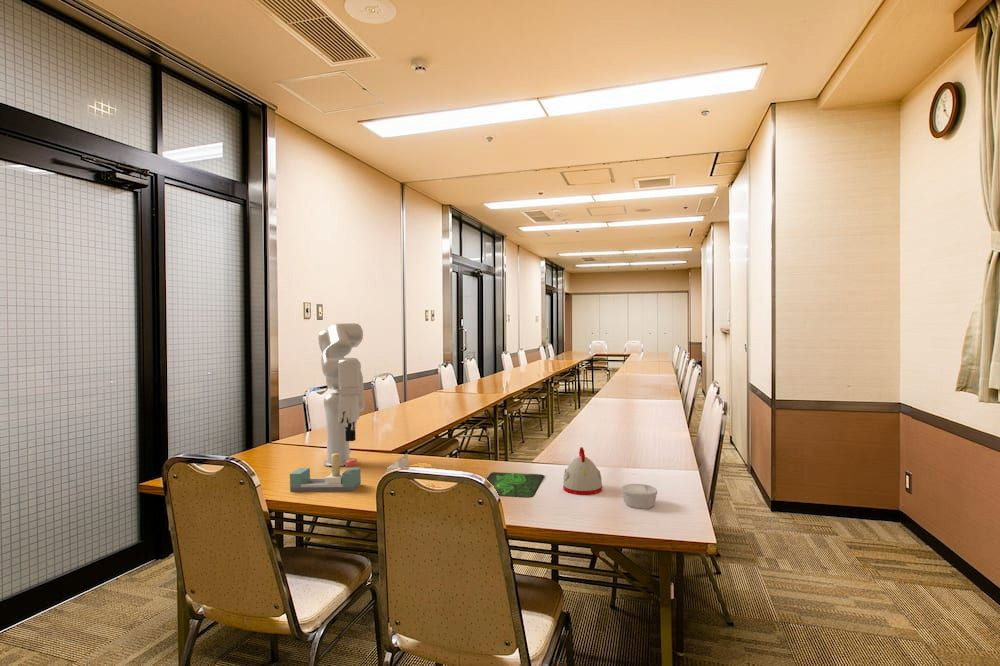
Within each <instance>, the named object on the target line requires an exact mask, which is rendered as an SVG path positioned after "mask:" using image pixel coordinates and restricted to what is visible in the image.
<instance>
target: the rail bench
mask: <svg viewBox="0 0 1000 666" xmlns="http://www.w3.org/2000/svg"><path fill="white" fill-rule="evenodd" d="M341 473H342V482H343V484H325V477H322V478H321V477H317V478H316V477H314V478H313V477H311V468H310V467H298V468H297V469H296V470H294V471H292V472H290V473H289V488H290V489H289V490H290V492H354V491H355V490H357V488H358V486H359V485H360V484H361V483H362V482H361V481H362V480H361V479H362V478H361V477H362V475H361V467H348V469H346V470H345V471H344V472H341ZM361 485H362V484H361ZM361 485H360V486H361ZM360 486H359V487H360Z"/></svg>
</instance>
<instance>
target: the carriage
mask: <svg viewBox="0 0 1000 666" xmlns="http://www.w3.org/2000/svg"><path fill="white" fill-rule="evenodd" d="M331 462H332V467H331V473H330V474H329V475H327V476H326V477H324V478H325V484H343V482H342V473H343V472H341V466H340V454H339V453H334V454H331Z"/></svg>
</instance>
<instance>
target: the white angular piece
mask: <svg viewBox="0 0 1000 666" xmlns="http://www.w3.org/2000/svg"><path fill="white" fill-rule="evenodd" d="M403 460H404V461H403ZM404 467H409V468H410V462H409V454H408V453H405V454H404V455H402V456H401V457H400V458H398V461H394V462H393V463H392V464H391V465H389V466H387V467H386V473H387V472H389V471H391V470H394V469H398V468H404Z"/></svg>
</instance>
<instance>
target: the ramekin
mask: <svg viewBox="0 0 1000 666" xmlns="http://www.w3.org/2000/svg"><path fill="white" fill-rule="evenodd" d="M621 492H622V496H623V502H624V504H625V505H626V506H627V507H629V508H632V509H635V510H649V509H652V508H653V507H654V506H655V504H656V498H657V495H658V489H657V488H656V487H655V486H652V485H649V484H644V483H629V484H624V485H623V486H622V487H621Z"/></svg>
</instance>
